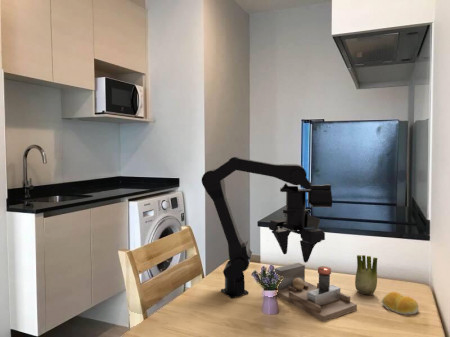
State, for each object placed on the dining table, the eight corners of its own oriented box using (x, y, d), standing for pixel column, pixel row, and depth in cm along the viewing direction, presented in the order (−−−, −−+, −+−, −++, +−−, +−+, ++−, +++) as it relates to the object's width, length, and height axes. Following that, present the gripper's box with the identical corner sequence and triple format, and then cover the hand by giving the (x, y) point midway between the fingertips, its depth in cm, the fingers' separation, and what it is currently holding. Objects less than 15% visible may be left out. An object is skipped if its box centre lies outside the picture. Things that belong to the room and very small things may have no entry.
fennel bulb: (378, 294, 113) (379, 256, 112) (369, 298, 110) (370, 259, 109) (361, 288, 118) (362, 251, 117) (352, 292, 115) (353, 254, 114)
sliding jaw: (306, 302, 103) (306, 270, 103) (331, 294, 109) (331, 263, 108) (315, 307, 100) (316, 273, 100) (341, 299, 106) (341, 267, 105)
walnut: (290, 288, 114) (290, 277, 114) (298, 286, 116) (298, 275, 116) (298, 292, 111) (298, 281, 111) (306, 290, 113) (307, 278, 112)
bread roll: (411, 318, 98) (411, 304, 98) (378, 307, 105) (378, 293, 104) (423, 309, 103) (424, 295, 103) (391, 299, 110) (392, 286, 110)
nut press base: (270, 292, 115) (270, 269, 114) (301, 284, 121) (301, 261, 121) (323, 321, 96) (324, 293, 95) (356, 309, 103) (357, 283, 102)
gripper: (339, 209, 106) (337, 262, 107) (294, 200, 122) (294, 246, 123) (310, 213, 100) (309, 268, 101) (268, 203, 116) (267, 251, 117)
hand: (295, 257), depth 111 cm, fingers open, 9 cm apart
